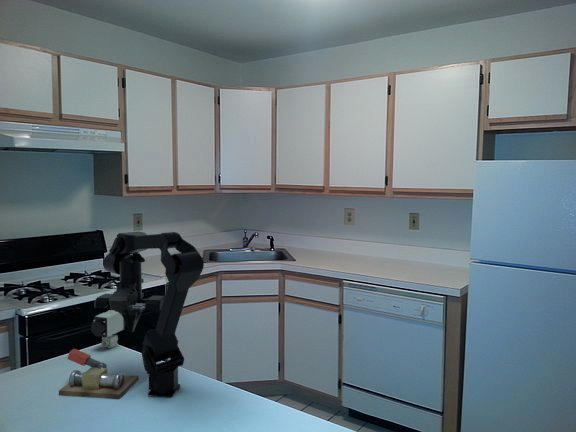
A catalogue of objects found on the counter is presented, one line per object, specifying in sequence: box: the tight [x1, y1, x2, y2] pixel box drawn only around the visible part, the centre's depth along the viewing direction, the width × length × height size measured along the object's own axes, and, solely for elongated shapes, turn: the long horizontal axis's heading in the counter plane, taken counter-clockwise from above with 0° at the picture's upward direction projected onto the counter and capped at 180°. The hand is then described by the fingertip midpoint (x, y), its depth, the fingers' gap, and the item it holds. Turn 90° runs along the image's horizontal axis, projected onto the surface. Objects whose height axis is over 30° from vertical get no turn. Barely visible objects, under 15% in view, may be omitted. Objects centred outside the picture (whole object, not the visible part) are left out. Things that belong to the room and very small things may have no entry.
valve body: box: [68, 367, 125, 390], centre depth 116 cm, size 13×4×4 cm, turn 84°
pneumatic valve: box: [90, 309, 126, 349], centre depth 147 cm, size 6×12×12 cm, turn 161°
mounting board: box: [58, 371, 140, 400], centre depth 118 cm, size 16×11×1 cm
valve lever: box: [66, 348, 108, 369], centre depth 120 cm, size 2×2×11 cm
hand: (131, 332), depth 126 cm, fingers closed
